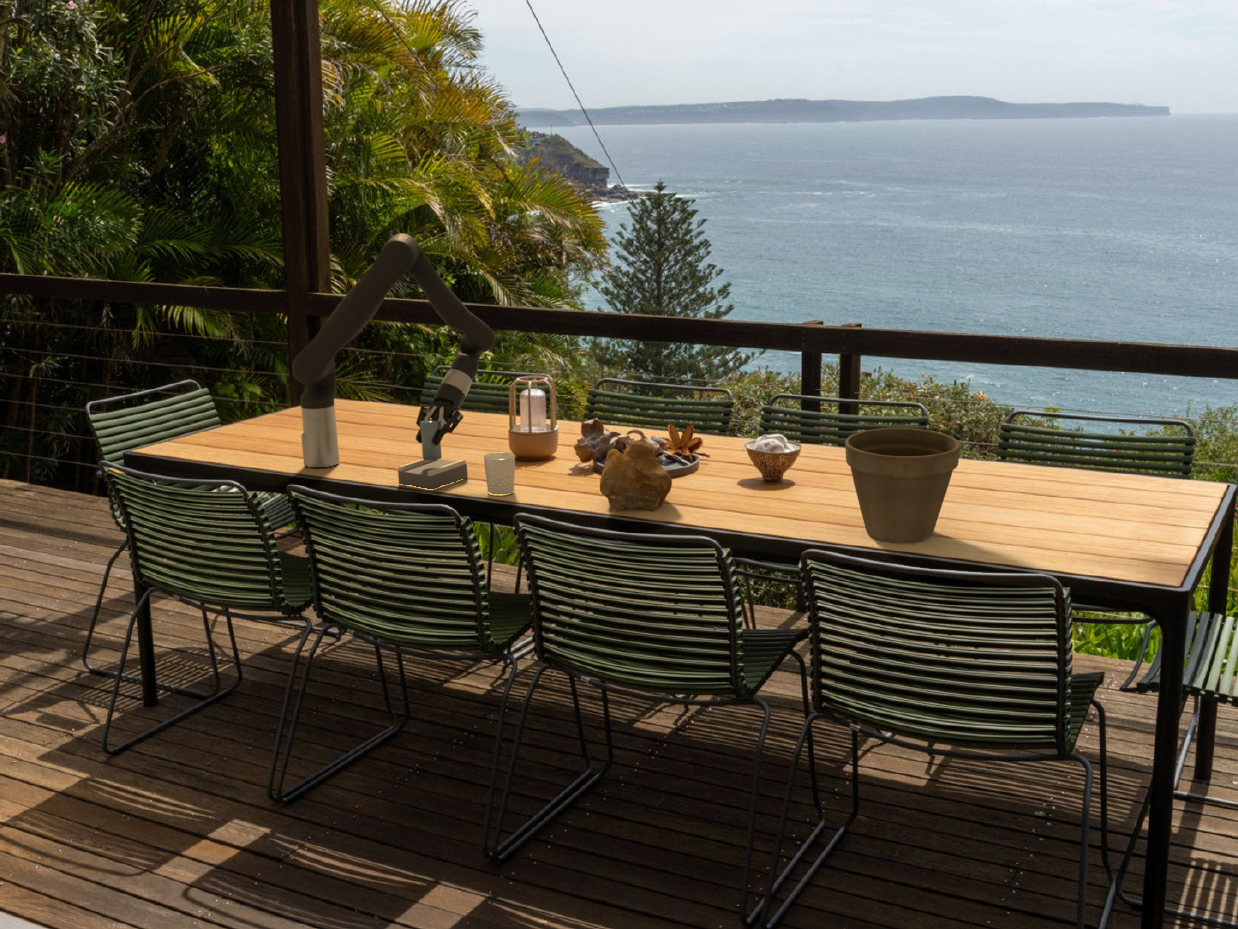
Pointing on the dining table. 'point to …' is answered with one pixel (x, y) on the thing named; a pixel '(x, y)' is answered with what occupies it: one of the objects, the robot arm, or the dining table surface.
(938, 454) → the plant pot
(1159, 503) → the dining table surface
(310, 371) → the robot arm
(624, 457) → the rough brown rock
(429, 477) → the block
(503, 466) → the white cup
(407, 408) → the dining table surface
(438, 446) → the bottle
